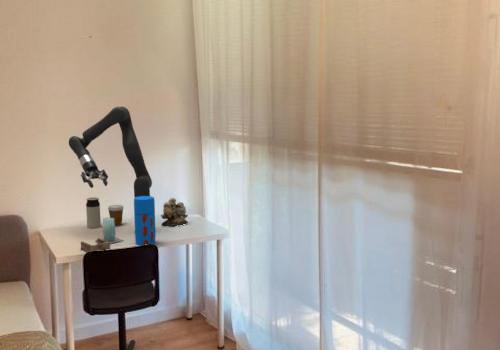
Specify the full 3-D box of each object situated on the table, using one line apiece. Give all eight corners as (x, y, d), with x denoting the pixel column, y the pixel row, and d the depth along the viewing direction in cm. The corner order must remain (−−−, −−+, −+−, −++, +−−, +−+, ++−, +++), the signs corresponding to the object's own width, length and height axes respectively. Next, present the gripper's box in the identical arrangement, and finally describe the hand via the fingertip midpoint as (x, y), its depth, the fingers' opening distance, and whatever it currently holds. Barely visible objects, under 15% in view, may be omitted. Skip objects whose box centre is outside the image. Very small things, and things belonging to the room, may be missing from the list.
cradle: (99, 245, 258) (98, 238, 257) (110, 249, 250) (109, 242, 250) (80, 249, 250) (80, 241, 250) (91, 253, 243) (91, 246, 242)
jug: (111, 238, 270) (110, 217, 268) (119, 241, 264) (118, 219, 262) (101, 240, 265) (100, 219, 264) (109, 243, 259) (108, 221, 258)
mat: (113, 237, 273) (113, 236, 273) (123, 241, 266) (123, 240, 265) (95, 241, 265) (95, 240, 265) (105, 245, 258) (105, 244, 258)
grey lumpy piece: (165, 228, 293) (164, 201, 291) (157, 225, 302) (156, 198, 300) (191, 224, 304) (190, 197, 301) (182, 220, 313) (181, 195, 311)
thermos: (137, 240, 267) (135, 196, 264) (156, 239, 268) (155, 195, 265) (134, 246, 256) (132, 199, 253) (154, 245, 257) (153, 199, 254)
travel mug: (100, 228, 294) (98, 199, 292) (86, 228, 293) (85, 199, 290) (101, 224, 302) (100, 196, 299) (88, 225, 300) (86, 197, 298)
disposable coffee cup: (119, 227, 296) (119, 208, 294) (105, 226, 298) (104, 207, 296) (126, 223, 305) (126, 205, 304) (113, 222, 307) (112, 204, 306)
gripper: (78, 161, 270) (89, 183, 263) (101, 158, 280) (113, 180, 273) (74, 169, 274) (85, 191, 268) (97, 167, 284) (108, 188, 278)
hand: (99, 186), depth 271 cm, fingers open, 8 cm apart
